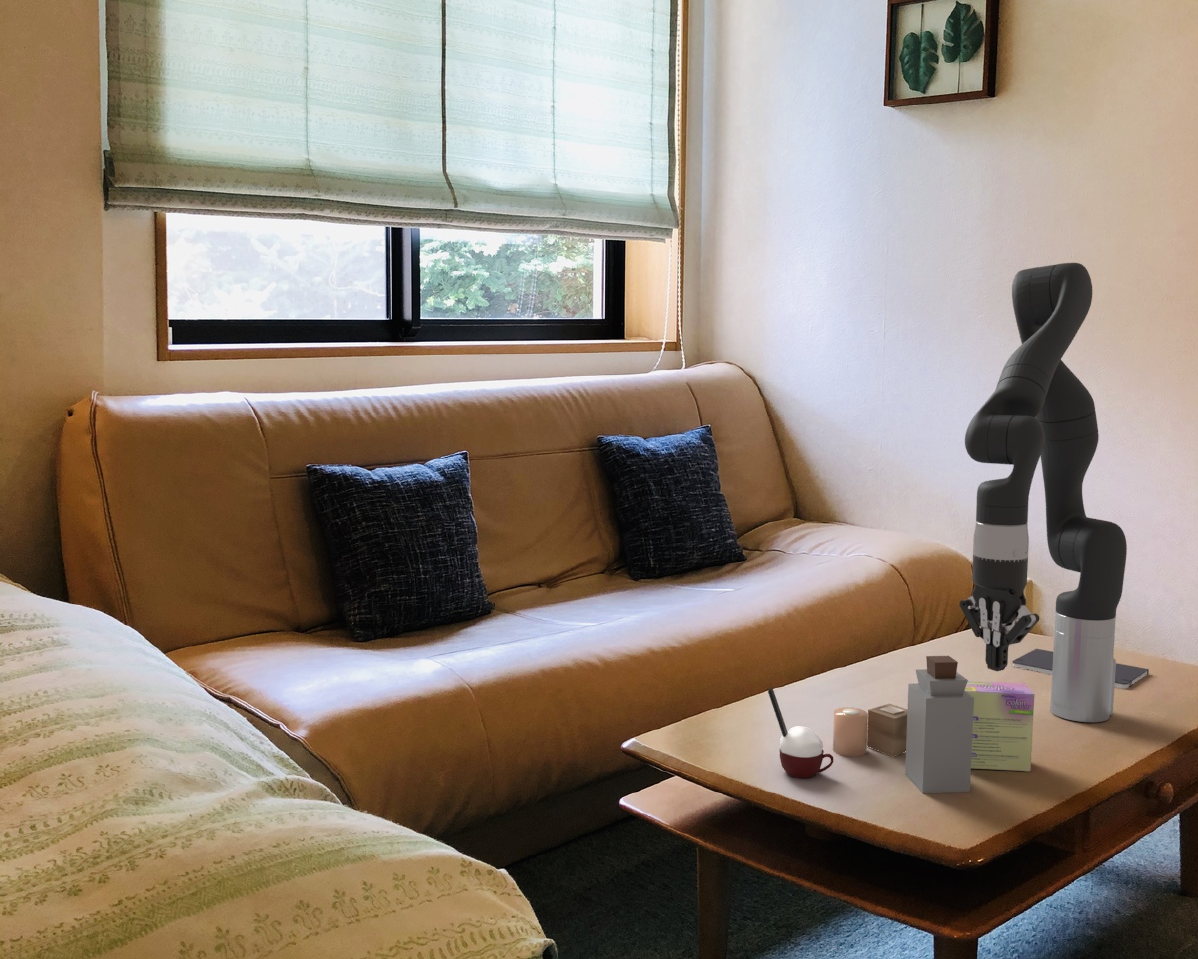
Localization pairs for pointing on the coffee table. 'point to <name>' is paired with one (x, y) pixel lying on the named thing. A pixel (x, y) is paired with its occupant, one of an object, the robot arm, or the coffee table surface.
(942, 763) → the perfume bottle
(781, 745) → the cocoa
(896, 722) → the walnut block
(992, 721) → the box
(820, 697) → the coffee table surface
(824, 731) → the coffee table surface
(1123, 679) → the notebook
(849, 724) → the terracotta cylinder
